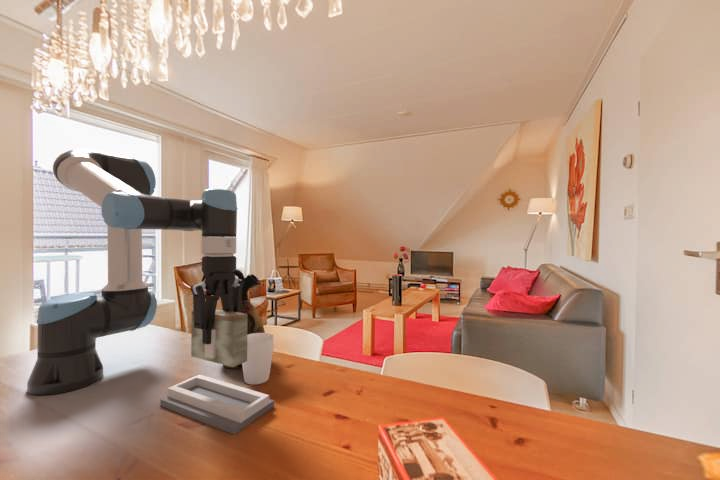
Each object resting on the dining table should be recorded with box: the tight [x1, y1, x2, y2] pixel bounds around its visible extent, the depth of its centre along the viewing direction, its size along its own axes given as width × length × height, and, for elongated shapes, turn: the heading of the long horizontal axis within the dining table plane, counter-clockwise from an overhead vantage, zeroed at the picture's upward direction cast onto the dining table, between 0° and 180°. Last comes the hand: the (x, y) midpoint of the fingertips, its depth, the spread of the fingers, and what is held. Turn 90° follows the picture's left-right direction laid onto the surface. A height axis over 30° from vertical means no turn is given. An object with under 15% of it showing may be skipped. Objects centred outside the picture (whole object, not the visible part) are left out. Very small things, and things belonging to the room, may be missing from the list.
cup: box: [242, 332, 275, 386], centre depth 90 cm, size 9×9×12 cm
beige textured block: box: [190, 308, 248, 367], centre depth 75 cm, size 14×4×11 cm, turn 64°
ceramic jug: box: [222, 268, 266, 370], centre depth 101 cm, size 17×15×30 cm
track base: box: [159, 374, 275, 435], centre depth 75 cm, size 24×12×4 cm, turn 64°
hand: (218, 353), depth 75 cm, fingers closed on beige textured block, 4 cm apart
